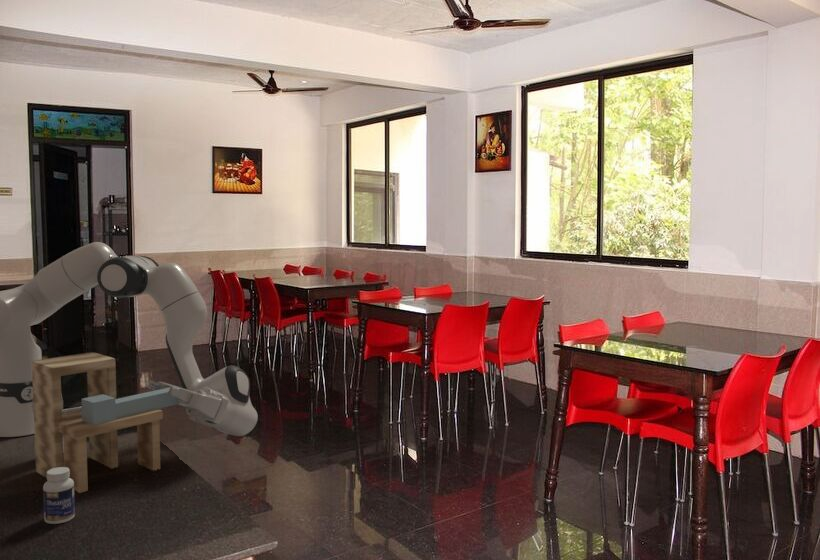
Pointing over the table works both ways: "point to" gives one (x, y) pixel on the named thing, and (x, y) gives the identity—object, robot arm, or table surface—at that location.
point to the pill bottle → (58, 496)
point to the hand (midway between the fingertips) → (160, 387)
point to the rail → (124, 405)
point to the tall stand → (51, 415)
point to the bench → (80, 430)
